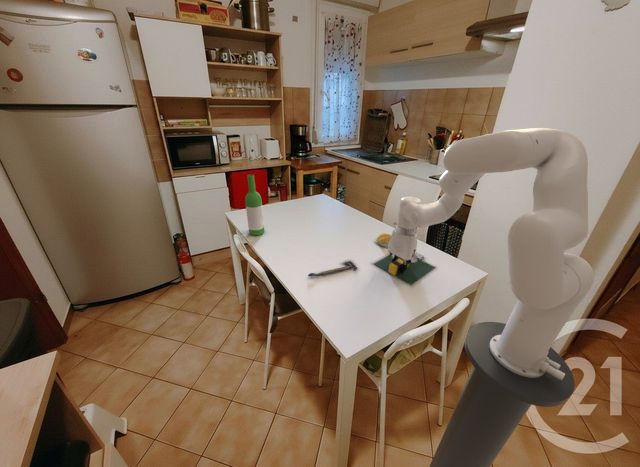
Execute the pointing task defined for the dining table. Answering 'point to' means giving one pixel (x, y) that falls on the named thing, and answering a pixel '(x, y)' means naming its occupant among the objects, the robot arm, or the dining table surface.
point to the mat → (411, 273)
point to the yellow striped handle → (396, 265)
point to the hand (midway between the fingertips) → (398, 268)
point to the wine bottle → (254, 209)
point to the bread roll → (383, 239)
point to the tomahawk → (334, 270)
